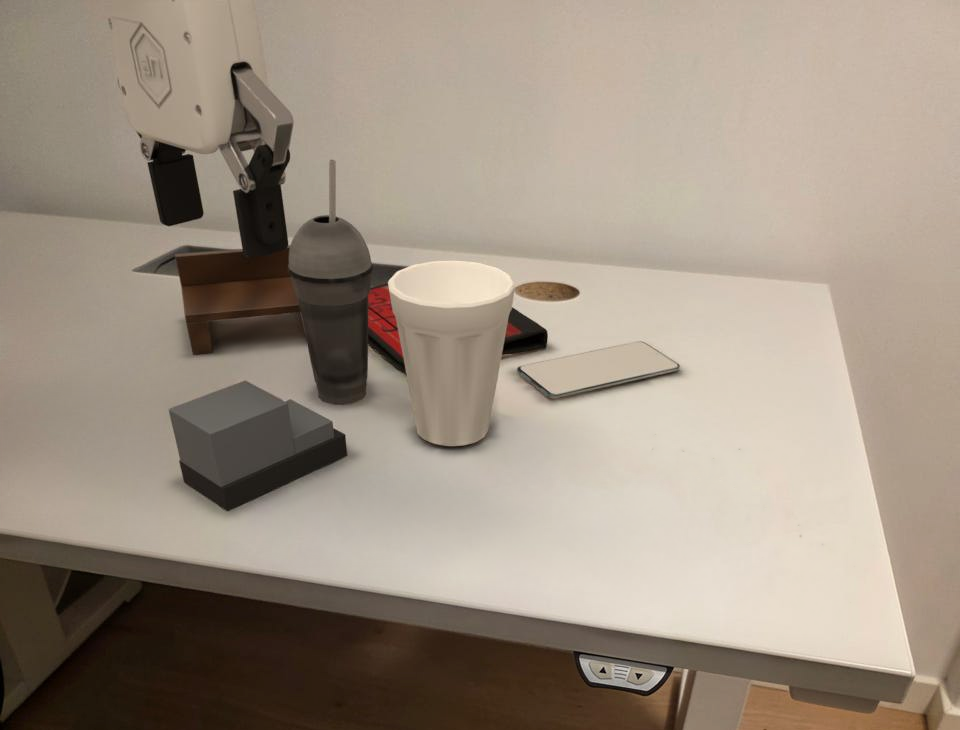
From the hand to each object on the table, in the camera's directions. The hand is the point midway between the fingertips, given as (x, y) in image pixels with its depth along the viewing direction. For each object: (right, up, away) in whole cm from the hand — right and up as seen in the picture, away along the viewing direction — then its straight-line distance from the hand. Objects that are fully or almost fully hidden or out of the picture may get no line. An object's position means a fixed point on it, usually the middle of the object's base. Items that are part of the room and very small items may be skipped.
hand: (223, 236), depth 61 cm
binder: (+12, +6, +36) cm, 38 cm away
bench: (-6, +6, +35) cm, 36 cm away
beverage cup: (+4, -4, +24) cm, 25 cm away
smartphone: (+29, -1, +28) cm, 40 cm away
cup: (+15, -9, +18) cm, 25 cm away
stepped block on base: (0, -13, +13) cm, 19 cm away
